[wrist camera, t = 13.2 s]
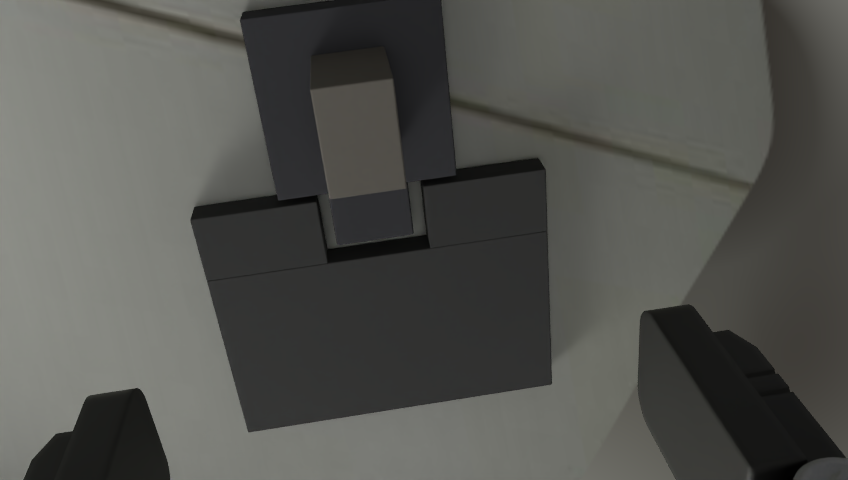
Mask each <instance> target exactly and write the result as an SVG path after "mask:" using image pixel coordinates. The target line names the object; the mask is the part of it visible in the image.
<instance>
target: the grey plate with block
mask: <svg viewBox="0 0 848 480" xmlns="http://www.w3.org/2000/svg"><path fill="white" fill-rule="evenodd" d="M240 22H241V27H242V32H243V36H244V41H245V46H246V51H247V55H248V60H249V65H250V70H251V74H252V79H253V84H254V89H255V93H256V98H257V103H258V108H259V112H260V117H261V122H262V127H263V131H264V136H265V141H266V146H267V150H268V155H269V160H270V165H271V169H272V174H273V179H274V184H275V188H276V193H277V198H278V200H286V199H293V198H300V197H307V196H314V195H321V194H328V195H329V201H330V207H331V213H332V218H333V224H334V230H335V235H336V241H337V244H338V245H343V244H350V243H356V242H363V241H370V240H377V239H384V238H391V237H397V236H404V235H411V234H413V224H412V216H411V208H410V200H409V192H408V183H407V182H412V181H419V180H426V179H433V178H440V177H447V176H454V175H456V164H455V153H454V142H453V130H452V119H451V108H450V97H449V85H448V74H447V63H446V52H445V41H444V29H443V18H442V7H441V0H332V1H325V2H317V3H309V4H302V5H294V6H286V7H278V8H271V9H263V10H255V11H247V12H243V13H242V16H241V19H240Z"/></svg>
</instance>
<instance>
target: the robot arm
mask: <svg viewBox="0 0 848 480" xmlns="http://www.w3.org/2000/svg"><path fill="white" fill-rule="evenodd" d="M638 395H639V401H640V405H641V410H642V414H643V417H644V419H645V422H646V424H647V426H648V428H649V430H650V432H651V434H652V436H653V437H654V439H655V441H656V443H657V445H658V447H659V449H660V451H661V452H662V454H663V456H664V458H665V460H666V462H667V464H668V466H669V468H670V469H671V471H672V473H673V475H674V477H675V479H676V480H848V458H846V457H845V456H844V455H843V453H842V452H841V451H840V450H839V448H838V447H837V446H836V445H835V443H834V442H833V441H832V440H831V438H830V437H829V436H828V435H827V433H826V432H825V431H824V430H823V428H822V427H820V425H819V424H818V422H817V421H816V420H815V419H814V417H813V416H812V415H811V414H810V412H809V411H808V410H807V409H806V407H805V406H804V405H803V404H802V403H801V402H800V400H799V399H798V398H797V396H796V395H795V394H794V393H793V392H790V390H789V386H788V385H787V384H786V383H785V382H784V380H783V379H782V378H781V377H780V375H779V374H775V371H774V368H773V367H772V365H771V364H770V363H769V362H768V361H767V359H766V358H765V357H764V356H763V354H762V353H761V352H760V351H759V349H758V348H757V347H756V346H754V345H752V344H751V343H749V342H747V341H746V340H744V339H743V338H741V337H739V336H738V335H736V334H734V333H733V332H731V331H729V330H725V331H719V332H712V331H711V329H710V328H709V327H708V325H707V324H706V323H705V321H704V320H703V319H702V317H701V316H700V315H699V313H698V312H697V311H696V309H695V308H694V307H693V306H691V305H689V304H688V305H681V306H675V307H668V308H662V309H655V310H649V311H644V312H643V313H642V315H641V319H640V335H639V364H638ZM23 480H170V473H169V466H168V462H167V459H166V456H165V453H164V450H163V447H162V444H161V441H160V438H159V436H158V433H157V430H156V427H155V424H154V421H153V418H152V415H151V413H150V410H149V407H148V404H147V401H146V399H145V396H144V394H143V392H142V391H141V390H140V389H138V388H135V389H129V390H122V391H116V392H109V393H103V394H96V395H90V396H88V397H87V398H86V400H85V402H84V404H83V406H82V409H81V412H80V414H79V417H78V419H77V422H76V425H75V427H74V430H73V431H71V432H64V433H58V434H55V436H54V437H53V438H52V439H51V440H50V441H49V442H48V443H47V444H46V445H45V446H44V448H43V449H42V450H41V451H40V452H39V453H38V454H37V455H36V456H35V457H34V458H33V459H32V461H31V463H30V466H29V468H28V470H27V473H26V475H25V477H24V479H23Z"/></svg>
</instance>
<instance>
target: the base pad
mask: <svg viewBox="0 0 848 480" xmlns="http://www.w3.org/2000/svg"><path fill="white" fill-rule="evenodd" d="M421 188H422V197H423V206H424V215H425V224H426V233H427V236H420V237H414V238H407V239H400V240H393V241H386V242H379V243H373V244H366V245H359V246H352V247H345V248H338V249H332V250H327V244H326V239H325V234H324V228H323V223H322V217H321V212H320V206H319V201H318V195H314V196H307V197H300V198H293V199H286V200H278V198H277V196H270V197H263V198H256V199H249V200H242V201H235V202H228V203H221V204H214V205H206V206H199V207H194V210H193V214H192V217H191V224H192V228H193V231H194V235H195V239H196V242H197V246H198V250H199V253H200V257H201V261H202V264H203V268H204V272H205V275H206V279H207V283H208V286H209V290H210V294H211V297H212V301H213V305H214V308H215V312H216V316H217V319H218V323H219V327H220V330H221V334H222V338H223V341H224V345H225V349H226V352H227V356H228V360H229V363H230V367H231V371H232V374H233V378H234V382H235V385H236V389H237V393H238V396H239V400H240V404H241V407H242V411H243V415H244V418H245V422H246V426H247V429H248V432H254V431H260V430H266V429H273V428H279V427H285V426H292V425H298V424H304V423H311V422H317V421H323V420H330V419H336V418H342V417H349V416H355V415H361V414H367V413H374V412H380V411H386V410H393V409H399V408H405V407H412V406H418V405H424V404H431V403H437V402H443V401H450V400H456V399H462V398H469V397H475V396H481V395H488V394H494V393H500V392H507V391H513V390H519V389H525V388H532V387H538V386H544V385H551V384H552V372H551V338H550V305H549V271H548V238H547V203H546V170H545V168H544V166H543V165H542V163H541V162H540V160H539V159H538V158H537V159H530V160H523V161H516V162H509V163H502V164H495V165H488V166H481V167H474V168H467V169H460V170H456V175H454V176H447V177H440V178H433V179H426V180H421Z"/></svg>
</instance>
